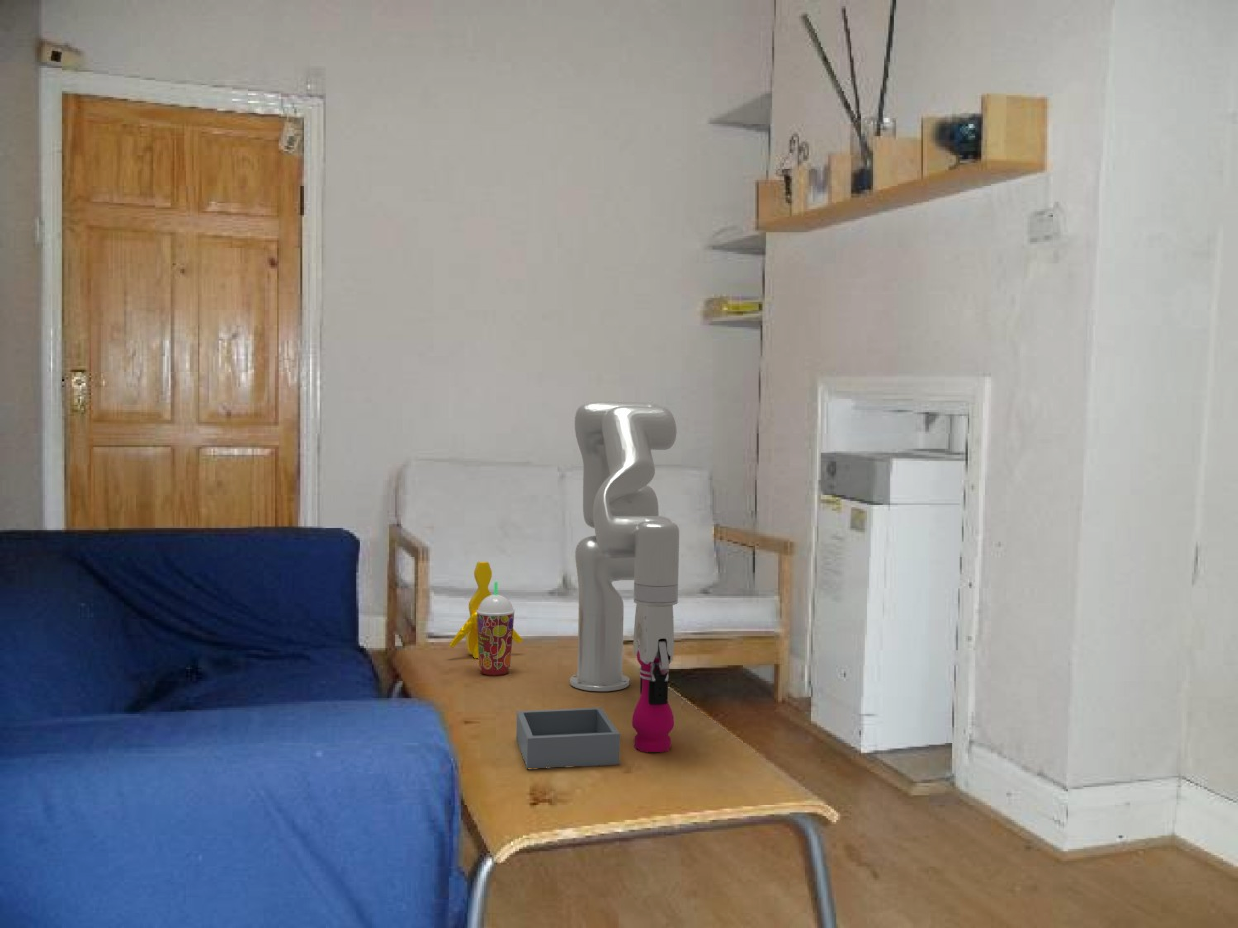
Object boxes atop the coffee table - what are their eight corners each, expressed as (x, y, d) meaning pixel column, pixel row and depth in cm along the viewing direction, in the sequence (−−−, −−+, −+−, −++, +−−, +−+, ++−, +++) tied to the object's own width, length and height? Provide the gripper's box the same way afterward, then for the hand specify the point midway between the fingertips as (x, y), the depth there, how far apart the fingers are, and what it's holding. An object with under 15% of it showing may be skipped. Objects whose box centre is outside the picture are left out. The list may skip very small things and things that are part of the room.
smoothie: (470, 669, 218) (472, 580, 217) (506, 666, 221) (508, 578, 220) (481, 678, 210) (483, 586, 209) (518, 675, 214) (520, 584, 213)
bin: (516, 739, 170) (516, 711, 170) (600, 735, 173) (601, 707, 173) (527, 769, 156) (527, 738, 155) (619, 764, 159) (619, 733, 159)
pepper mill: (638, 755, 163) (640, 636, 163) (626, 741, 170) (628, 627, 170) (679, 752, 165) (682, 634, 164) (665, 738, 172) (668, 626, 171)
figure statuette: (450, 662, 224) (451, 566, 223) (443, 654, 231) (444, 561, 230) (525, 656, 231) (526, 563, 230) (515, 649, 238) (516, 559, 237)
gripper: (623, 585, 174) (621, 687, 175) (646, 603, 158) (644, 714, 158) (664, 585, 176) (661, 685, 177) (691, 602, 159) (688, 712, 160)
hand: (653, 698), depth 167 cm, fingers closed on pepper mill, 5 cm apart
